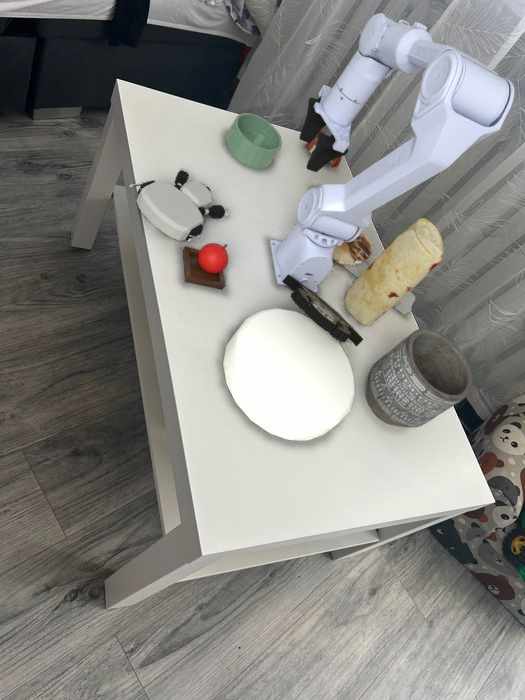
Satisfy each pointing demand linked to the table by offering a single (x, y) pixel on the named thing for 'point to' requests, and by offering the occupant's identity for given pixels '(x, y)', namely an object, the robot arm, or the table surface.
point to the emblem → (321, 312)
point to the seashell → (353, 251)
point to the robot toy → (178, 206)
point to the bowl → (253, 141)
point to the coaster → (200, 271)
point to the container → (289, 374)
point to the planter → (418, 380)
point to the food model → (395, 272)
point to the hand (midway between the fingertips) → (307, 154)
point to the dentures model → (311, 148)
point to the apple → (213, 258)
